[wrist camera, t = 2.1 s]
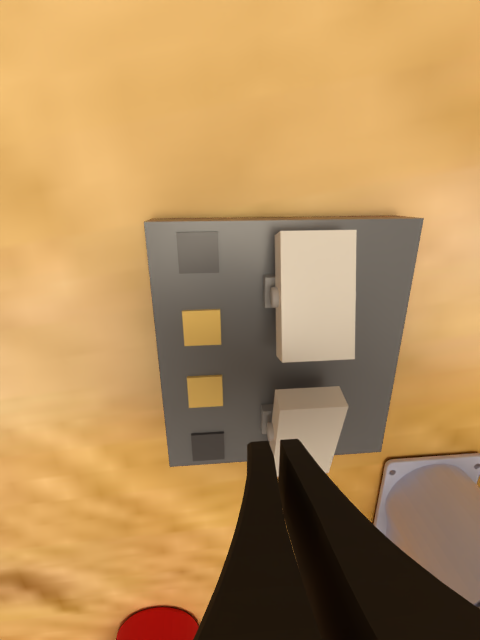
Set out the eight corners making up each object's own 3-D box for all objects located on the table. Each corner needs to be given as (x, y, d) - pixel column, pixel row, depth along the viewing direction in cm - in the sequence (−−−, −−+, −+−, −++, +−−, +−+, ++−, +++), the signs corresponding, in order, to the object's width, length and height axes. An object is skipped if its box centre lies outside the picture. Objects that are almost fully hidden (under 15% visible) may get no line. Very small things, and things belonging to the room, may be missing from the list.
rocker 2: (325, 450, 21) (332, 472, 20) (263, 454, 21) (267, 477, 20) (343, 384, 18) (353, 406, 16) (270, 388, 17) (274, 410, 16)
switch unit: (364, 427, 24) (386, 459, 21) (173, 439, 23) (168, 475, 20) (397, 215, 19) (432, 219, 16) (152, 218, 18) (140, 222, 15)
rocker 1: (347, 352, 17) (359, 359, 16) (271, 355, 17) (276, 362, 15) (348, 234, 16) (361, 229, 15) (269, 235, 16) (274, 230, 15)
